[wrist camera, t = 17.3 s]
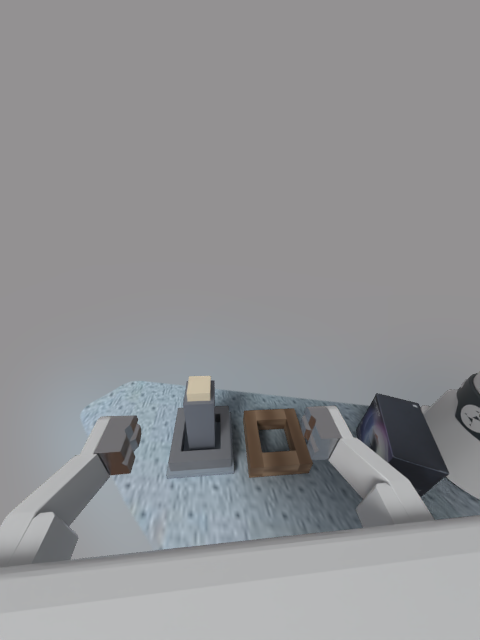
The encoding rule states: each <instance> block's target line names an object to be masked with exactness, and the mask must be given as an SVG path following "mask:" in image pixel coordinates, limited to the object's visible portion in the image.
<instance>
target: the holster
mask: <svg viewBox="0 0 480 640" xmlns="http://www.w3.org/2000/svg"><path fill="white" fill-rule="evenodd" d="M243 424H244V434H245V443H246V452H247V462H248V471H249V478H251V477H264V476H277V475H290V474H303V473H309V471H310V469H311V467H312V464H313V462H312V460H311V457H310V454H309V451H308V448H307V445H306V442H305V439H304V437H303V434H302V430H301V427H300V424H299V421H298V418H297V416H296V413H295V410H294V409H272V410H250V411H244V417H243ZM269 429H284V431H285V435H286V438H287V442H288V446H289V449H290V451H280V452H265V453H262V450H261V444H260V438H259V432H258V430H269Z"/></svg>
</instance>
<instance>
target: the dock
mask: <svg viewBox="0 0 480 640" xmlns="http://www.w3.org/2000/svg"><path fill="white" fill-rule="evenodd" d="M222 474H234V459H233V442H232V424H231V412H229V406H215V449H211V450H196V451H189V443H188V436H187V429H186V422H185V415H184V408H178V412H177V417H176V423H175V429H174V434H173V440H172V445H171V451H170V457H169V462H168V469H167V474H166V476H167V479H169V478H182V477H195V476H209V475H222Z"/></svg>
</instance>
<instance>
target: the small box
mask: <svg viewBox="0 0 480 640" xmlns="http://www.w3.org/2000/svg"><path fill="white" fill-rule="evenodd" d="M357 437H358V439H359V440H360V441H362V442H363V443H364V444H365V445H366V446H368V447H369V448H370V449H371V450H373V451H374V452H375V453H376V454H378V455H379V456H380V457H381V458H382V459H384V460H385V461H386V462H387V463H389V464H390V465H391V466H392V467H394V468H395V469H396V470H397V471H398V472H400V473H401V474H402V475H403V476H405V477H406V478H407V479H408V480H409V481H410V482H411V484H412V485H413V487H414V489H415V490H416V492H417V493H418V495H419V496H420V497H421V496H423V495H424V494H425V493H426V492H427V491H428V490H430V489H431V488H432V487H433V486H434V485H435V484H437V483H438V482H439V481H440V480H442V479H443V478H444V477H446V476H448V475H449V471H448V469H447V467H446V464H445V462H444V460H443V458H442V455H441V453H440V451H439V448H438V446H437V444H436V442H435V440H434V437H433V435H432V433H431V431H430V428H429V426H428V424H427V422H426V419H425V417H424V415H423V413H422V410H421V408H420V406H419V404H418V403H415V402H411V401H406V400H402V399H398V398H394V397H390V396H386V395H382V394H378V393H377V394H376V395H375V397H374V399H373V401H372V403H371V405H370V406H369V408H368V410H367V412H366V414H365V415H364V417H363V419H362V421H361V422H360V424H359V426H358V428H357Z"/></svg>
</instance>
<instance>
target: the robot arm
mask: <svg viewBox="0 0 480 640" xmlns="http://www.w3.org/2000/svg"><path fill="white" fill-rule="evenodd" d="M420 408H421V410H422V413H423V415H424V417H425V419H426V422H427V424H428V426H429V428H430V431H431V433H432V435H433V437H434V440H435V442H436V444H437V446H438V448H439V451H440V453H441V455H442V458H443V460H444V462H445V464H446V467H447V469H448V471H449V475H448V476H446V477H447V478H448V479H449V480H450V481H452V482H453V483H454V484H455V485H457V486H458V487H460V488H461V489H462V490H464V491H465V492H467V493H469V494H470V495H472V496H474V497H476V498H477V499H479V500H480V372H479V373H476V374H473V375H472V376H470V377H469V378H468V379H467V380H465V381H464V382H463V384H462V385H461V387H460V388H459V389H458V390H452V389H450V390H448V391H446V393H444V394H443V395H442V396H441V397H440V398H439V399H438V400H437V401H436V402H435V403H434V404H433V405H432V406H425V405H424V406H422V407H420ZM304 414H305V415H304V416H303V417H302V418H301V430H302V434H303V437H304V438H306V439H307V440H308V443H307V448H308V451H309V454H310V457H311V460H327V459H329V461H330V463H331V464H332V465H333V466H334V467H335V468H336V469H337V470H338V472H339V473H340V474H341V475H342V476H343V477H344V478H345V479H346V481H347V482H348V483H349V484H350V485H351V486H352V487H353V488H354V490H355V491H356V492H357V493H358V494H359V495H360V496H361V497H362V499H363V500H362V501H361V503H360V504H359V505H358V506H357V508H356V512H357V514H358V517H359V519H360V522H361V524H362V526H363V528H357V529H348V530H339V531H330V532H321V533H311V534H302V535H293V536H284V537H275V538H265V539H256V540H247V541H238V542H229V543H220V544H210V545H201V546H192V547H183V548H174V549H164V550H155V551H147V552H137V553H128V554H119V555H109V556H100V557H91V558H82V559H74V560H70V559H71V556H72V553H73V551H74V548H75V546H76V543H77V541H78V535H77V534H76V533H75V532H74V531H73V530H72V529H71V528H70V527H69V526H70V524H71V523H72V522H73V521H74V520H75V518H76V517H77V516H78V515H79V514H80V512H81V511H82V510H83V509H84V508H85V506H86V505H87V504H88V503H89V502H90V500H91V499H92V498H93V497H94V495H95V494H96V493H97V492H98V491H99V489H100V488H101V487H102V486H103V485H104V483H105V482H106V481H107V480H108V478H109V477H110V476H109V475H119V474H129V473H131V470H132V466H133V463H134V460H135V455H134V451H135V450H136V449H137V448H138V447H139V443H140V439H141V427H140V425H139V424H137V422H138V418H137V416H136V415H135V416H106V417H100V418H99V419H98V420H97V422H96V424H95V426H94V428H93V430H92V432H91V434H90V435H89V437H88V439H87V441H86V443H85V445H84V447H83V449H82V451H81V453H80V455H76V456H74V457H73V458H72V459H71V460H70V461H69V462H67V463H66V464H65V465H64V466H63V467H62V468H61V469H59V470H58V471H57V472H56V473H55V474H54V475H53V476H51V477H50V478H49V479H48V480H47V481H46V482H45V483H44V484H42V485H41V486H40V487H39V488H38V489H37V490H35V491H34V492H33V493H32V494H31V495H30V496H29V497H27V498H26V499H25V500H24V501H23V502H22V503H20V504H19V505H18V506H17V507H16V508H15V509H14V510H13V511H11V512H10V513H9V514H8V515H7V517H6V518H5V520H4V522H3V523H2V525H1V526H0V640H480V515H477V516H467V517H458V518H449V519H440V520H435V519H434V518H433V516H432V515H431V513H430V512H429V510H428V509H427V507H426V505H425V504H424V502H423V501H422V499H421V498H420V496H419V495H418V493H417V492H416V490H415V489H414V487H413V485H412V484H411V482H410V481H409V480H408V479H407V478H406V477H405V476H403V475H402V474H401V473H400V472H398V471H397V470H396V469H395V468H394V467H392V466H391V465H390V464H389V463H387V462H386V461H385V460H384V459H382V458H381V457H380V456H379V455H378V454H376V453H375V452H374V451H373V450H371V449H370V448H369V447H368V446H366V445H365V444H364V443H363V442H362V441H360V440H359V439H358V438H354V437H353V435H352V433H351V432H350V430H349V428H348V426H347V424H346V423H345V421H344V419H343V417H342V415H341V413H340V412H339V410H338V408H337V407H336V406H318V407H306V408H305V409H304Z"/></svg>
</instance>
